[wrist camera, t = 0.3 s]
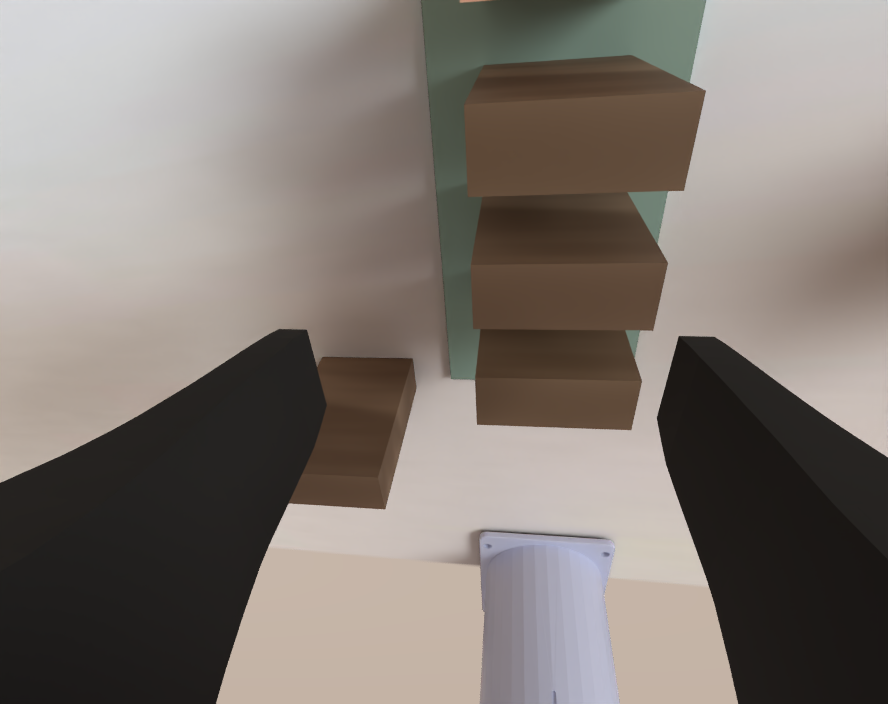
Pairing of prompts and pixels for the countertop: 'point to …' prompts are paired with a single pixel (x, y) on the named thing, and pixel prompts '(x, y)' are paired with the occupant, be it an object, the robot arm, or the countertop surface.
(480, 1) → the domino end
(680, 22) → the mat
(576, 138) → the domino
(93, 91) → the countertop surface
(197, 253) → the countertop surface
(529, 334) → the domino
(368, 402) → the domino
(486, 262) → the domino
